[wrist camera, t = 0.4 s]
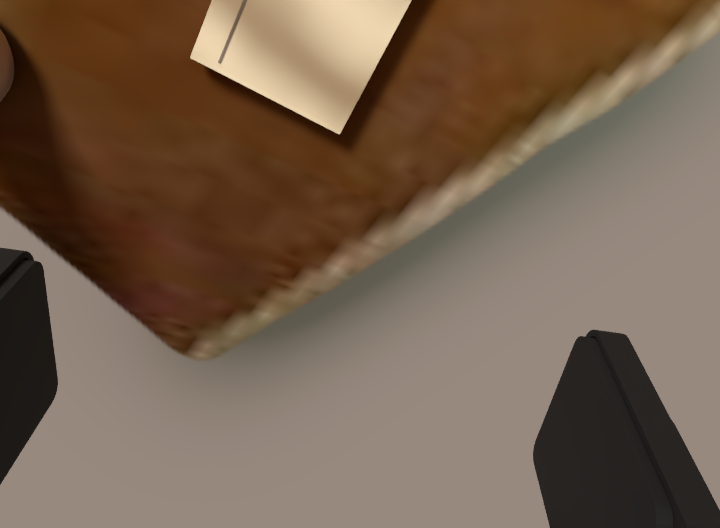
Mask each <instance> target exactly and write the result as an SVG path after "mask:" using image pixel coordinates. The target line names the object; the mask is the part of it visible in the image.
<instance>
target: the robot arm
mask: <svg viewBox="0 0 720 528" xmlns="http://www.w3.org/2000/svg"><path fill="white" fill-rule="evenodd" d="M57 386H58V378H57V370H56V362H55V355H54V347H53V339H52V333H51V324H50V317H49V308H48V301H47V293H46V285H45V278H44V270H43V266H42V264H41V263H40V262H37V261H34V259H33V257H32V255H31V254H30V253H29V252H27V251H20V250H12V249H6V248H0V484H1V483H2V481H3V479H4V477H5V476H6V475H7V473H8V471H9V470H10V468H11V467H12V465H13V464H14V462H15V460H16V459H17V457H18V456H19V454H20V452H21V451H22V449H23V448H24V446H25V445H26V443H27V441H28V440H29V438H30V437H31V435H32V434H33V432H34V430H35V429H36V427H37V426H38V424H39V422H40V421H41V419H42V418H43V416H44V414H45V413H46V411H47V410H48V408H49V406H50V405H51V403H52V402H53V400H54V398H55V395H56V391H57ZM533 460H534V465H535V469H536V473H537V477H538V481H539V485H540V489H541V493H542V497H543V501H544V505H545V509H546V513H547V517H548V521H549V525H550V528H720V510H719V508H718V506H717V505H716V503H715V501H714V499H713V497H712V495H711V493H710V491H709V489H708V487H707V485H706V483H705V482H704V480H703V478H702V476H701V474H700V472H699V470H698V468H697V466H696V465H695V462H694V460H693V459H692V457H691V455H690V453H689V451H688V449H687V447H686V445H685V443H684V441H683V439H682V437H681V436H680V434H679V432H678V430H677V428H676V426H675V424H674V423H673V421H672V420H671V419H670V417H669V415H668V413H667V411H666V409H665V407H664V405H663V404H662V402H661V400H660V398H659V396H658V394H657V392H656V390H655V388H654V386H653V384H652V382H651V381H650V379H649V377H648V375H647V373H646V371H645V369H644V367H643V365H642V363H641V362H640V359H639V357H638V356H637V354H636V352H635V350H634V348H633V346H632V344H631V342H630V340H629V338H628V337H627V336H626V335H624V334H620V333H613V332H606V331H599V330H591V331H590V332H589V333H588V334H587V335H586V337H583V336H580V337H578V338H577V339H576V341H575V343H574V346H573V348H572V351H571V353H570V356H569V358H568V361H567V363H566V366H565V368H564V371H563V374H562V376H561V378H560V381H559V384H558V386H557V389H556V391H555V394H554V396H553V399H552V401H551V404H550V406H549V409H548V411H547V414H546V416H545V419H544V421H543V424H542V427H541V429H540V431H539V434H538V436H537V439H536V441H535V445H534V451H533Z"/></svg>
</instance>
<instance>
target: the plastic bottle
mask: <svg viewBox="0 0 720 528" xmlns="http://www.w3.org/2000/svg"><path fill="white" fill-rule="evenodd" d="M13 78H14V60H13V56H12V52H11V48H10V46H9V44H8V41H7V39H6V37H5V35H4V34H3V32H2V30H1V29H0V102H1V101H2V99H3V98H4V97H5V96H6V94H7V93H8V91H9V90H10V88H11V85H12V82H13Z"/></svg>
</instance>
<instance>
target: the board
mask: <svg viewBox="0 0 720 528" xmlns="http://www.w3.org/2000/svg"><path fill="white" fill-rule="evenodd" d="M411 1H412V0H212V2H211V4H210V7H209V9H208V12H207V15H206V17H205V20H204V23H203V25H202V28H201V30H200V33H199V36H198V38H197V41H196V44H195V46H194V49H193V51H192V54H191V57H190V58H191V59H193V60H195V61H197V62H199V63H201V64H203V65H205V66H207V67H209V68H211V69H213V70H214V71H216V72H218V73H220V74H222V75H224V76H226V77H228V78H230V79H232V80H234V81H236V82H238V83H240V84H242V85H244V86H246V87H248V88H249V89H251V90H253V91H255V92H257V93H259V94H261V95H263V96H265V97H267V98H269V99H271V100H273V101H275V102H277V103H279V104H281V105H283V106H284V107H286V108H288V109H290V110H292V111H294V112H296V113H298V114H300V115H302V116H304V117H306V118H308V119H310V120H312V121H314V122H316V123H318V124H320V125H321V126H323V127H325V128H327V129H329V130H331V131H333V132H335V133H337V134H339V135H340V133H341V131H342V129H343V128H344V126H345V124H346V122H347V120H348V118H349V116H350V114H351V113H352V111H353V109H354V107H355V105H356V103H357V101H358V100H359V98H360V96H361V94H362V92H363V90H364V88H365V86H366V85H367V83H368V81H369V79H370V77H371V75H372V73H373V72H374V70H375V68H376V66H377V64H378V62H379V60H380V58H381V57H382V55H383V53H384V51H385V49H386V47H387V45H388V44H389V42H390V40H391V38H392V36H393V34H394V32H395V30H396V29H397V27H398V25H399V23H400V21H401V19H402V17H403V16H404V14H405V12H406V10H407V8H408V6H409V4H410V2H411Z"/></svg>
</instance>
